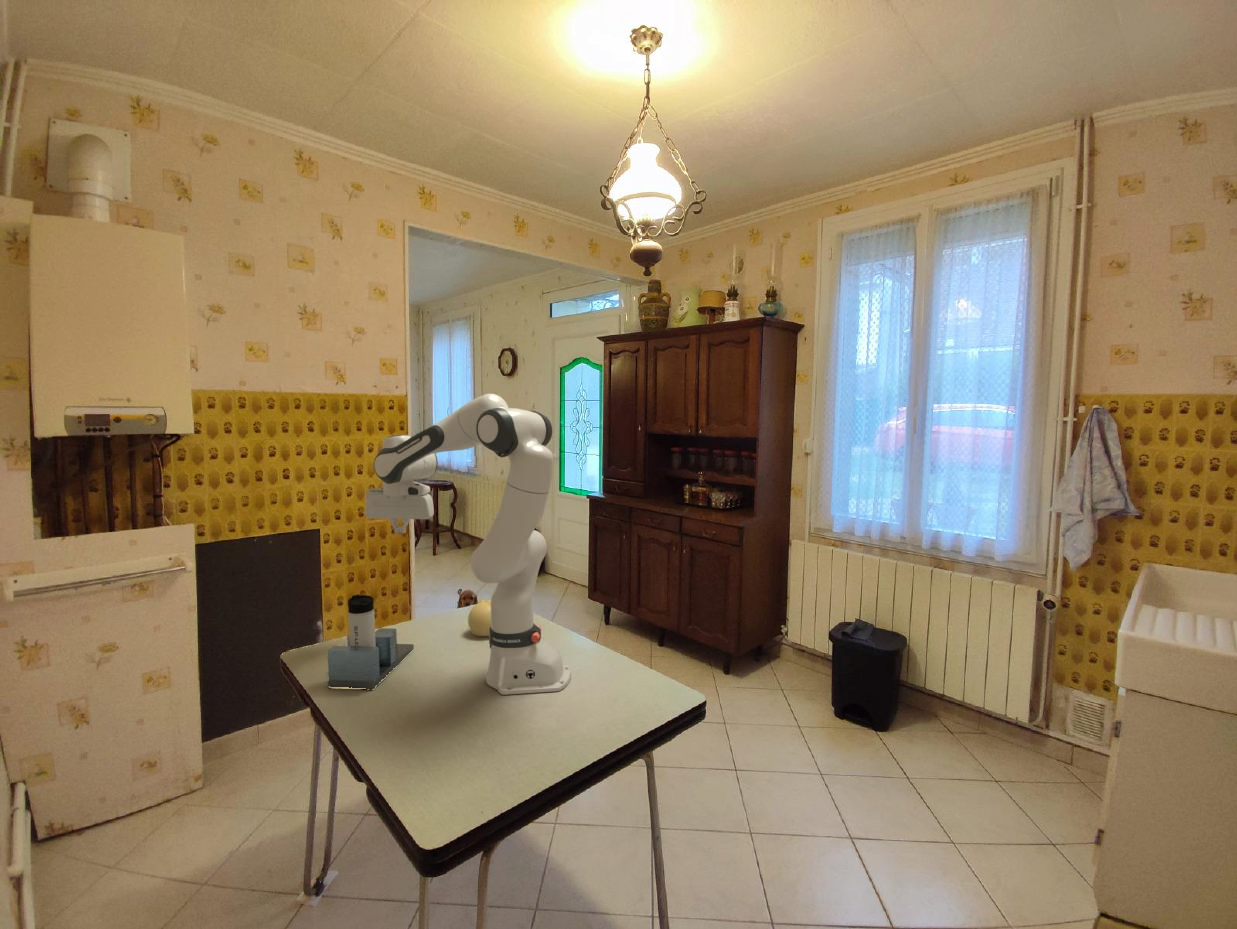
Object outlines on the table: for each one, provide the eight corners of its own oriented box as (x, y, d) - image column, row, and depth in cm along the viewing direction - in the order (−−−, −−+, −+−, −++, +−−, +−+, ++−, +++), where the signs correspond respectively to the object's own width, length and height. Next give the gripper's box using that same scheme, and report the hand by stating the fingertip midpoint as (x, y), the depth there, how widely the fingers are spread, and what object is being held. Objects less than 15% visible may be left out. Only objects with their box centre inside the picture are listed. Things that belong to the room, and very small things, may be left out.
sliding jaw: (368, 647, 164) (367, 621, 163) (408, 648, 163) (407, 622, 162) (348, 663, 153) (347, 636, 152) (391, 665, 152) (389, 637, 151)
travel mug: (369, 662, 154) (366, 592, 152) (381, 669, 150) (377, 597, 148) (346, 670, 149) (342, 597, 147) (357, 678, 145) (354, 603, 143)
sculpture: (513, 630, 182) (513, 598, 181) (487, 643, 172) (486, 609, 171) (488, 623, 188) (487, 592, 187) (461, 635, 178) (460, 602, 177)
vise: (374, 649, 167) (373, 617, 166) (413, 650, 166) (412, 618, 166) (328, 689, 143) (326, 651, 142) (373, 690, 143) (371, 652, 142)
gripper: (360, 489, 167) (362, 534, 168) (426, 489, 166) (428, 535, 167) (370, 486, 173) (372, 530, 174) (435, 487, 172) (436, 531, 173)
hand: (400, 533), depth 171 cm, fingers closed
